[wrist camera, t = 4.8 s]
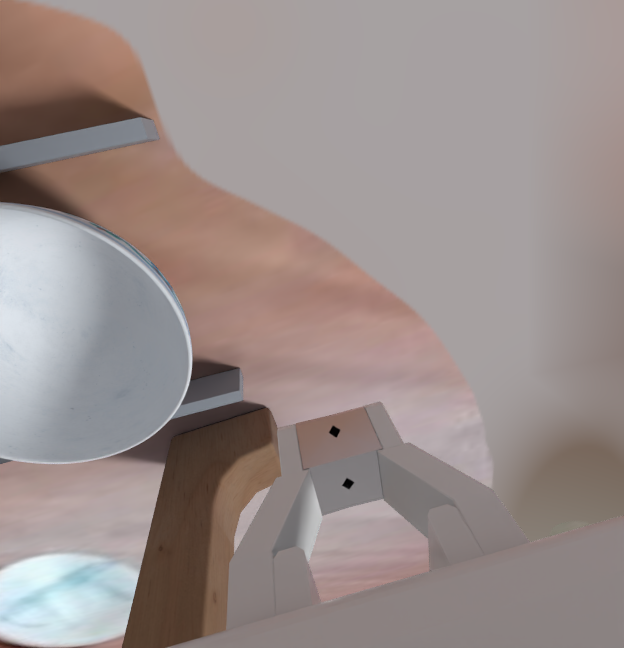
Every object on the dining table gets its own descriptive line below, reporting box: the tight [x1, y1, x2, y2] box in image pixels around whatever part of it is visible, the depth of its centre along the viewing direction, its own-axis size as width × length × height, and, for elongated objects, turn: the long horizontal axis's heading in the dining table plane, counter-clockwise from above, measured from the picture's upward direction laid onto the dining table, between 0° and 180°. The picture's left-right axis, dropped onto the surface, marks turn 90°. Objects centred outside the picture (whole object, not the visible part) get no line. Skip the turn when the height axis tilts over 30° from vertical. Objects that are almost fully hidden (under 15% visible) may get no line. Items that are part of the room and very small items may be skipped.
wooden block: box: [122, 408, 282, 648], centre depth 25 cm, size 9×4×18 cm, turn 104°
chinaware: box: [0, 202, 192, 464], centre depth 21 cm, size 15×15×8 cm
